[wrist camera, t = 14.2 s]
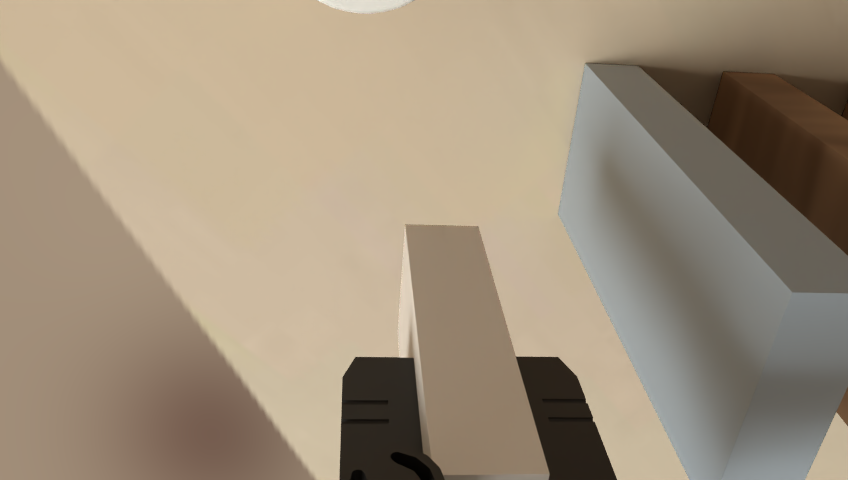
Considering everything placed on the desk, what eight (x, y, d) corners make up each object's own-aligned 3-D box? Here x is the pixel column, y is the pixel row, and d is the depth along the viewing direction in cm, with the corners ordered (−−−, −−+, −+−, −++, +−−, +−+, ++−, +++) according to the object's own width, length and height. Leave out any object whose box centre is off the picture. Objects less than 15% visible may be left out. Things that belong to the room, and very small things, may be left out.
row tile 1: (682, 218, 25) (918, 514, 14) (723, 71, 22) (1044, 299, 12) (728, 219, 25) (994, 513, 14) (773, 73, 22) (1135, 300, 12)
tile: (557, 213, 24) (707, 515, 14) (585, 63, 22) (792, 292, 11) (605, 215, 24) (789, 514, 14) (638, 65, 22) (890, 294, 11)
